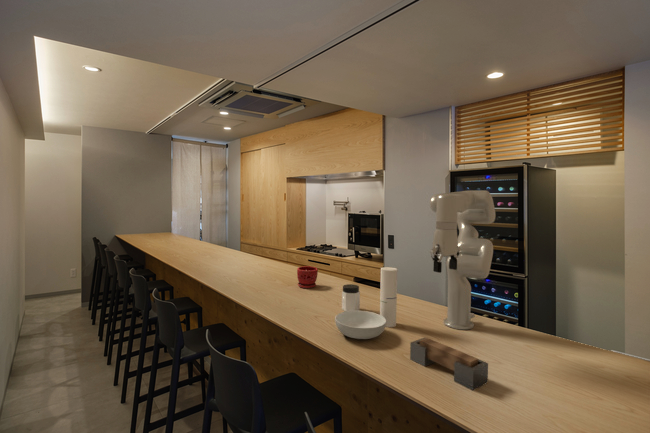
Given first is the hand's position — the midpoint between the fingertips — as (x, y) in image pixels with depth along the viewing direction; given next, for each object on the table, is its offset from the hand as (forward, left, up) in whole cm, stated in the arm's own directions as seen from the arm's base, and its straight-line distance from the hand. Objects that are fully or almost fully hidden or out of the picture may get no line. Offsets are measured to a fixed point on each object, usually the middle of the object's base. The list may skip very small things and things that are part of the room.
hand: (445, 270), depth 131 cm
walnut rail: (+18, +14, -26) cm, 35 cm away
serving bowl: (+22, -24, -29) cm, 43 cm away
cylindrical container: (+4, -26, -28) cm, 39 cm away
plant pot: (-1, -102, -29) cm, 106 cm away
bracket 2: (+18, +22, -28) cm, 40 cm away
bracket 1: (+18, +6, -28) cm, 34 cm away
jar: (+5, -51, -28) cm, 59 cm away
